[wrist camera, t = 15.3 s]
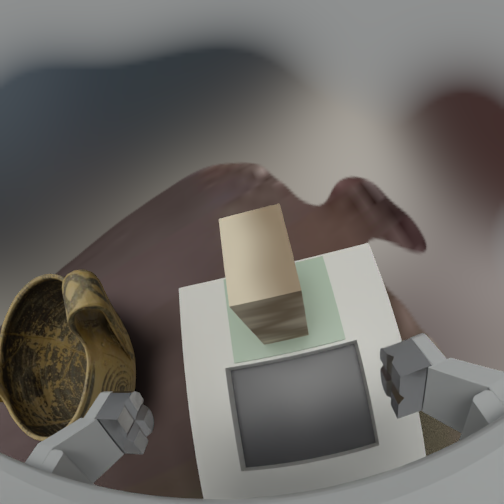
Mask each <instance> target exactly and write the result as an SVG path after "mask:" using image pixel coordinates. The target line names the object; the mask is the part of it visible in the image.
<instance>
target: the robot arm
mask: <svg viewBox="0 0 504 504" xmlns="http://www.w3.org/2000/svg"><path fill="white" fill-rule="evenodd" d="M380 360H381V361H382V363H383V366H382V367H381V369H380V374H381V382H382V386H383V389H384V392H385V394H386V396H388V397H390V398H391V406H392V408H393V411H394V413H395V415H396V417H397V419H398V418H401V417H404V416H407V415H410V414H413V413H416V412H418V411H421V410H422V411H423V412H424V413H426V414H428V415H430V416H432V417H433V418H435V419H437V420H439V421H440V422H442V423H444V424H446V425H448V426H450V427H451V428H453V429H455V430H457V431H459V432H461V433H462V434H461V436H460V439H459V441H458V442H456V443H454V444H452V445H450V446H448V447H446V448H443V449H441V450H439V451H437V452H435V453H432V454H430V455H428V456H426V457H423V458H421V459H418V460H416V461H413V462H411V463H408V464H405V465H403V466H400V467H397V468H394V469H391V470H389V471H386V472H382V473H379V474H376V475H373V476H370V477H366V478H363V479H359V480H355V481H352V482H348V483H344V484H339V485H335V486H331V487H326V488H321V489H316V490H310V491H305V492H298V493H292V494H284V495H276V496H267V497H255V498H238V499H192V498H175V497H163V496H154V495H146V494H138V493H132V492H126V491H120V490H115V489H109V488H105V487H100V486H96V485H94V484H93V483H94V482H95V481H96V480H97V479H98V478H99V477H100V476H101V475H102V474H103V473H105V472H106V471H107V470H108V469H109V468H110V467H111V466H112V465H113V464H114V463H115V462H116V461H117V460H118V459H119V458H120V457H122V456H123V455H124V454H123V453H127V454H143V453H144V451H145V448H146V446H147V443H148V439H147V437H146V436H148V435H149V434H150V433H151V432H152V430H153V427H154V418H153V415H152V413H151V411H150V409H149V408H148V407H146V406H145V405H143V400H144V399H143V398H142V396H141V395H140V393H139V392H136V391H104V392H101V393H100V394H99V395H98V397H97V398H96V400H95V401H94V403H93V404H92V406H91V407H90V409H89V410H88V412H87V413H86V415H85V417H84V418H80V419H78V420H76V421H75V422H73V423H72V424H70V425H68V426H67V427H65V428H63V429H62V430H60V431H58V432H57V433H55V434H54V435H52V436H50V437H48V438H47V439H45V440H43V441H42V442H40V443H38V444H37V446H36V447H35V449H34V450H33V452H32V453H31V455H30V456H29V458H28V459H27V461H26V462H25V463H23V462H21V461H18V460H16V459H14V458H11V457H9V456H7V455H5V454H2V453H0V504H504V372H503V371H499V370H495V369H491V368H487V367H483V366H480V365H476V364H472V363H468V362H465V361H461V360H458V359H454V358H449V359H447V358H446V357H445V356H444V355H443V354H442V353H441V351H440V350H439V349H438V348H437V347H436V346H435V345H434V343H433V342H432V341H431V340H430V339H429V338H428V337H427V336H426V334H424V333H421V334H419V335H416V336H414V337H411V338H409V339H407V340H404V341H401V342H398V343H395V344H392V345H389V346H386V347H383V348H381V349H380Z"/></svg>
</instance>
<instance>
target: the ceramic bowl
mask: <svg viewBox="0 0 504 504" xmlns="http://www.w3.org/2000/svg"><path fill="white" fill-rule="evenodd" d="M135 384H136V365H135V356H134V350H133V347H132V344H131V341H130V338H129V335H128V333H127V331H126V328H125V326H124V324H123V322H122V321H121V319H120V317H119V316H118V314H117V313H116V311H115V310H114V308H113V306H112V304H111V303H110V301H109V299H108V297H107V295H106V293H105V291H104V288H103V286H102V284H101V282H100V281H99V279H98V278H97V276H96V275H95V274H94V273H92V272H90V271H87V270H74V271H72V272H70V273H69V274H67V275H66V276H65V277H62V276H59V275H55V274H45V275H42V276H39V277H36V278H35V279H33V280H31V281H30V282H29V283H28V284H26V285H25V286H24V287H23V288H22V289H21V291H20V292H19V293H18V294H17V296H16V297H15V299H14V300H13V302H12V304H11V306H10V308H9V310H8V312H7V314H6V317H5V320H4V322H3V325H2V328H1V334H0V402H4V404H5V405H6V407H7V409H8V411H9V413H10V415H11V417H12V418H13V420H14V421H15V423H16V424H17V425H18V426H19V427H20V428H21V429H22V431H24V432H25V433H26V434H27V435H28V436H30V437H31V438H33V439H35V440H39V441H43V440H45V439H47V438H48V437H50V436H52V435H54V434H55V433H57V432H58V431H60V430H62V429H63V428H65V427H67V426H68V425H70V424H72V423H73V422H75V421H76V420H78V419H80V418H84V417H85V415H86V413H87V412H88V410H89V409H90V407H91V406H92V404H93V403H94V401H95V400H96V398H97V397H98V395H99V394H100V393H101V392H104V391H134V390H135Z"/></svg>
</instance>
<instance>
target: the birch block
mask: <svg viewBox="0 0 504 504" xmlns="http://www.w3.org/2000/svg"><path fill="white" fill-rule="evenodd" d="M219 225H220V234H221V243H222V252H223V260H224V269H225V277H226V285H227V294H228V301H229V307H230V308H231V309H232V310H233V311H234V313H235V314H236V315H237V316H238V317H239V318H240V319H241V320H242V321H243V322H244V323H245V325H246V326H247V327H248V328H249V329H250V330H251V331H252V332H253V333H254V334H255V335H256V336H257V337H258V339H259V340H260V341H261V342H262V343H263V344H264V345H265V344H270V343H275V342H280V341H285V340H289V339H294V338H298V337H303V336H307V335H309V333H308V327H307V321H306V315H305V308H304V302H303V297H302V291H301V286H300V282H299V278H298V274H297V270H296V266H295V262H294V258H293V254H292V250H291V246H290V242H289V238H288V234H287V230H286V226H285V223H284V219H283V215H282V211H281V208H280V204H276V205H271V206H267V207H263V208H259V209H256V210H252V211H248V212H244V213H240V214H236V215H232V216H228V217H225V218H221V219H219Z"/></svg>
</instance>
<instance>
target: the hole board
mask: <svg viewBox="0 0 504 504" xmlns="http://www.w3.org/2000/svg"><path fill="white" fill-rule="evenodd" d="M294 262H295V266H296V270H297V274H298V278H299V282H300V286H301V291H302V297H303V302H304V308H305V315H306V321H307V327H308V333H309V335H307V336H303V337H298V338H294V339H289V340H285V341H280V342H275V343H270V344H265V345H264V344H263V343H262V342H261V341H260V340H259V339H258V337H257V336H256V335H255V334H254V333H253V332H252V331H251V330H250V329H249V328H248V327H247V326H246V325H245V323H244V322H243V321H242V320H241V319H240V318H239V317H238V316H237V315H236V314H235V313H234V311H233V310H232V309H231V308H230V307H229V301H228V294H227V285H226V278H222V279H218V280H213V281H209V282H205V283H200V284H196V285H191V286H187V287H182V288H179V301H180V318H181V333H182V346H183V357H184V368H185V378H186V387H187V396H188V405H189V413H190V420H191V427H192V434H193V441H194V448H195V454H196V460H197V466H198V472H199V477H200V483H201V488H202V493H203V498H204V499H238V498H255V497H267V496H276V495H284V494H292V493H298V492H305V491H310V490H316V489H321V488H326V487H331V486H335V485H339V484H344V483H348V482H352V481H355V480H359V479H363V478H366V477H370V476H373V475H376V474H379V473H382V472H386V471H389V470H391V469H394V468H397V467H400V466H403V465H405V464H408V463H411V462H413V461H416V460H418V459H421V458H423V457H426V453H425V446H424V440H423V434H422V428H421V422H420V417H419V412H416V413H413V414H410V415H407V416H404V417H401V418H398V419H397V417H396V415H395V413H394V411H393V408H392V406H391V398H390V397H388V396H386V394H385V392H384V389H383V386H382V382H381V374H380V369H381V367H382V366H383V363H382V361H381V360H380V349H381V348H383V347H386V346H389V345H392V344H395V343H398V342H401V341H402V340H401V337H400V333H399V330H398V327H397V323H396V320H395V317H394V313H393V310H392V307H391V304H390V301H389V298H388V295H387V292H386V289H385V286H384V283H383V280H382V277H381V275H380V272H379V269H378V266H377V264H376V261H375V258H374V256H373V253H372V250H371V248H370V245H369V243H366V244H362V245H358V246H354V247H350V248H346V249H343V250H339V251H335V252H331V253H327V254H322V255H318V256H314V257H310V258H306V259H302V260H298V261H294Z"/></svg>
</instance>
